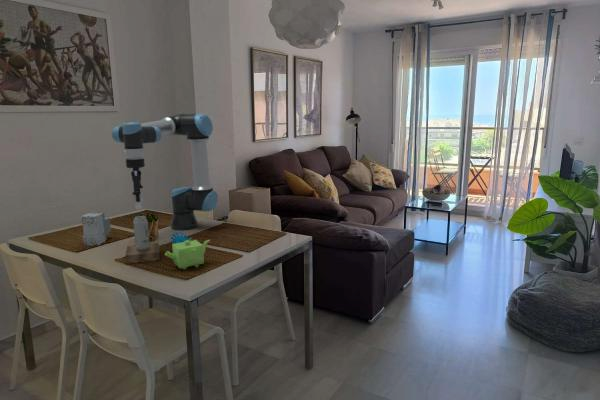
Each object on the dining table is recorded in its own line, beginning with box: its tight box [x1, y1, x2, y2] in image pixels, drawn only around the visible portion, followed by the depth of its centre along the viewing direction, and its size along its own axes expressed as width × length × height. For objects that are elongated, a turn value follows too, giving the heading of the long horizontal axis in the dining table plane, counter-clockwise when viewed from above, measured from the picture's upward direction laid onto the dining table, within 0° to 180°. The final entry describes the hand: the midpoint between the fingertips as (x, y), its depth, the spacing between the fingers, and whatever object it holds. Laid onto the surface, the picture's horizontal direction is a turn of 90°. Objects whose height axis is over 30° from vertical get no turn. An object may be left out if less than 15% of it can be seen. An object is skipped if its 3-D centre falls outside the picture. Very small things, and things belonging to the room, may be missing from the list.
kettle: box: [164, 239, 211, 270], centre depth 176 cm, size 15×14×11 cm
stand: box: [125, 242, 161, 265], centre depth 187 cm, size 14×14×4 cm
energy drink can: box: [132, 215, 151, 251], centre depth 185 cm, size 6×6×15 cm
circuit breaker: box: [80, 212, 112, 246], centre depth 211 cm, size 8×14×15 cm, turn 174°
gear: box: [170, 231, 192, 244], centre depth 201 cm, size 11×6×10 cm
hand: (139, 205), depth 183 cm, fingers open, 13 cm apart
